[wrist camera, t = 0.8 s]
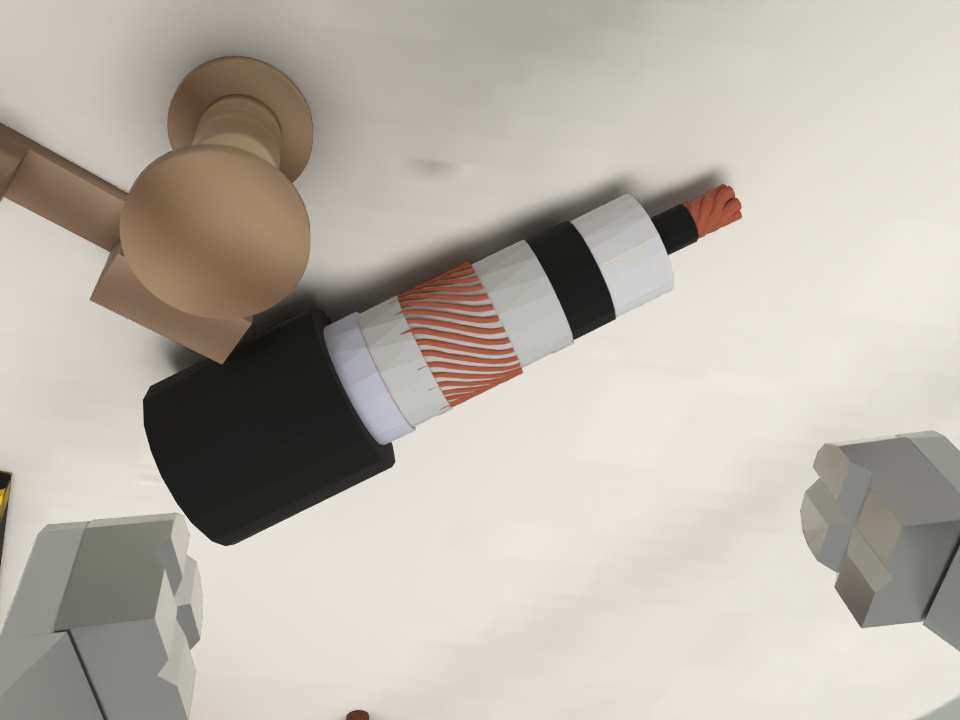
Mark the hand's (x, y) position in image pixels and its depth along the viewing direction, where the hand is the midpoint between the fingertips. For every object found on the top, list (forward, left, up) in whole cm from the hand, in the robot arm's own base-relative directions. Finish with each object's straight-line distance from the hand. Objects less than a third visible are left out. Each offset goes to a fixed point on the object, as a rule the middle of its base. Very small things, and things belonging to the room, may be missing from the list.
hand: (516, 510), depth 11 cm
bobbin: (+10, -1, -36) cm, 37 cm away
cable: (+12, +14, -36) cm, 41 cm away
